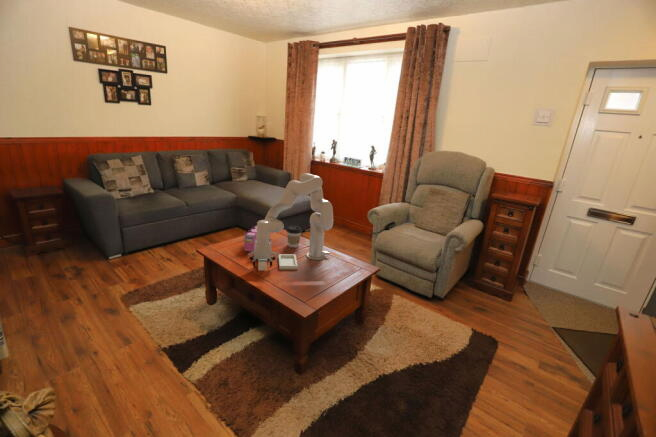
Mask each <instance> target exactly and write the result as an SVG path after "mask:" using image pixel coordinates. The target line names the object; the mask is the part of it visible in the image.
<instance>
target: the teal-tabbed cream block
mask: <svg viewBox="0 0 656 437" xmlns="http://www.w3.org/2000/svg"><path fill="white" fill-rule="evenodd" d="M257 261H258V265H257V266H258V268H257V270H258V271H267V270H268V269H267V268H268V259H258V260H257Z"/></svg>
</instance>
